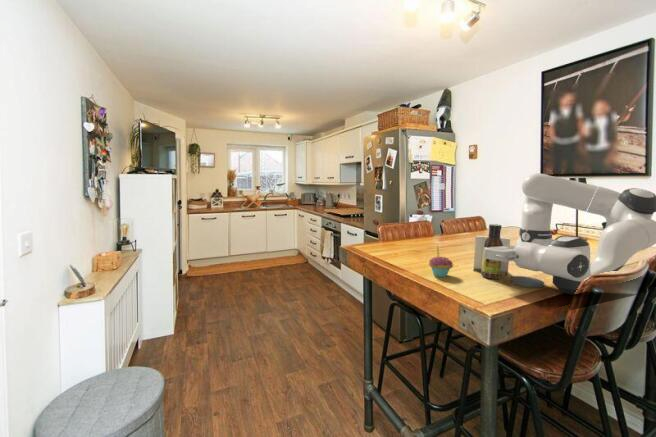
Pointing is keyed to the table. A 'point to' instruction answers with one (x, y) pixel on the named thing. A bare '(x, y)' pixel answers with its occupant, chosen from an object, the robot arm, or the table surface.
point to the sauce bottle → (492, 266)
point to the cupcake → (440, 265)
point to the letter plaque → (479, 254)
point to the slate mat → (527, 281)
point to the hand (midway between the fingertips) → (492, 248)
